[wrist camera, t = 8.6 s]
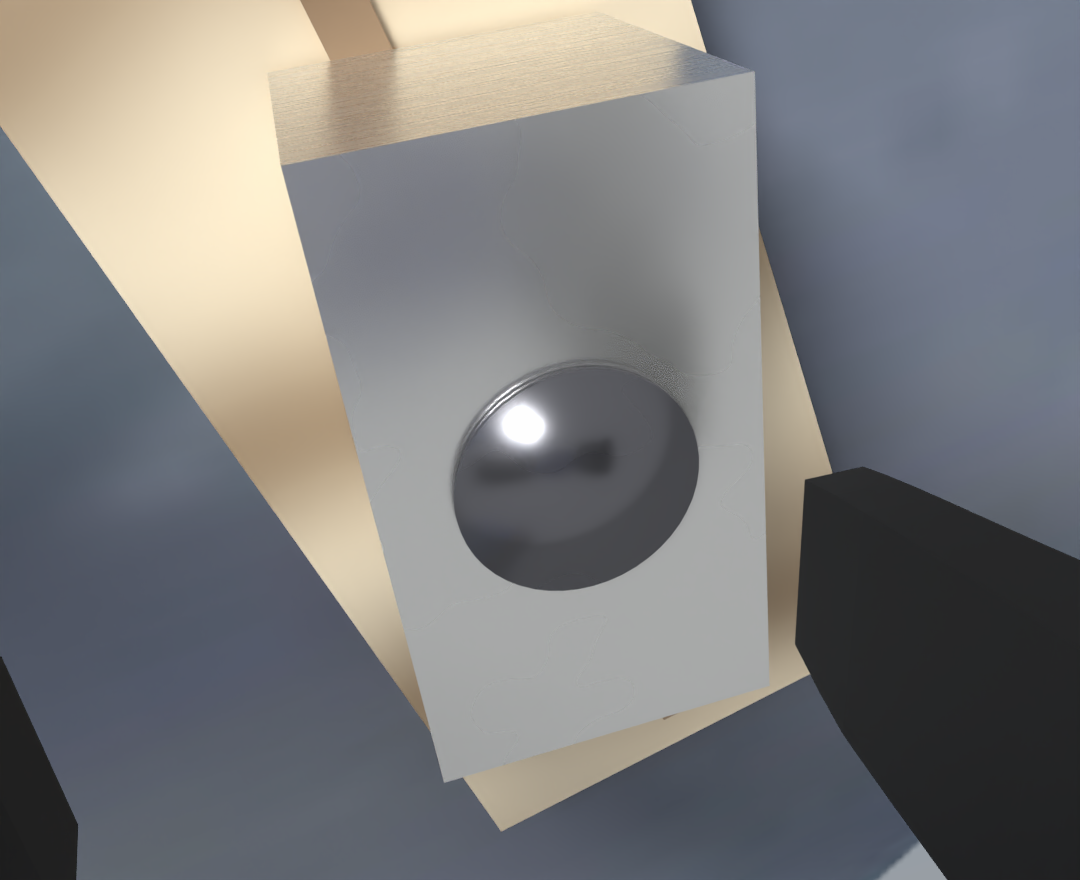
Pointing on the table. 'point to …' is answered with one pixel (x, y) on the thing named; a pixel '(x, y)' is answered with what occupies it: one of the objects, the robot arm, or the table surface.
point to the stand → (286, 289)
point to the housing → (547, 366)
